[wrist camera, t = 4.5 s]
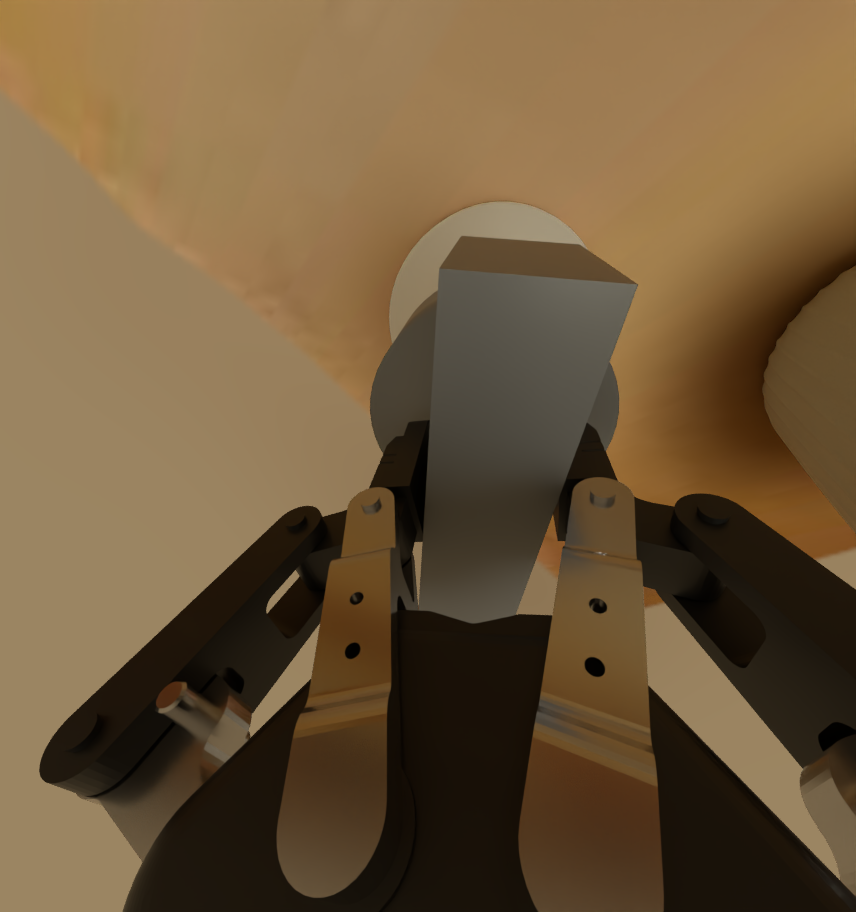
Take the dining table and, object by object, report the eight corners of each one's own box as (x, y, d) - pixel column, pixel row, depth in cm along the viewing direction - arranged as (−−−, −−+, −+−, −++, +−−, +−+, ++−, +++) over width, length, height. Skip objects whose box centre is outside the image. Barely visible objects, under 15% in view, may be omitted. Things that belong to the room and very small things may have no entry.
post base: (451, 150, 19) (425, 129, 12) (644, 273, 21) (718, 318, 14) (369, 355, 27) (324, 416, 20) (516, 431, 29) (524, 511, 22)
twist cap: (391, 218, 13) (272, 255, 6) (643, 235, 13) (838, 301, 5) (394, 470, 21) (341, 619, 14) (553, 491, 20) (585, 662, 13)
